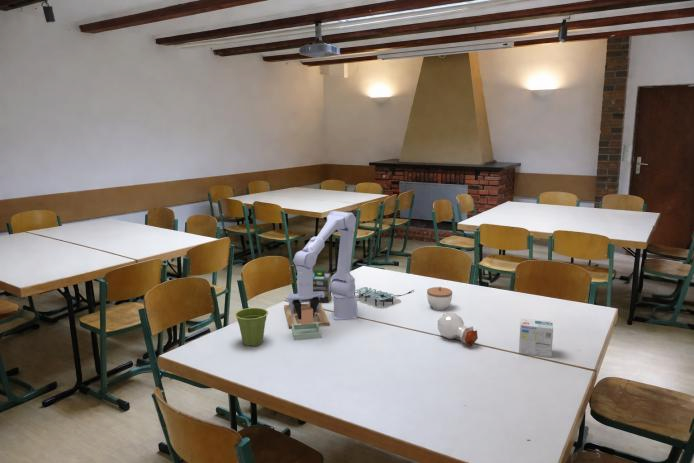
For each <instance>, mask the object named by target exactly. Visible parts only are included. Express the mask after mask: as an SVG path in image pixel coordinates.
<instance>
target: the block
mask: <svg viewBox="0 0 694 463" xmlns="http://www.w3.org/2000/svg"><path fill="white" fill-rule="evenodd" d="M298 321H299V322H300V323H301V324H302V325H304V324H310V323H313V309H312V308H311V307H310V306H309V305H308V306H301V319H300V320H299V319H298Z"/></svg>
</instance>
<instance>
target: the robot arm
mask: <svg viewBox="0 0 694 463" xmlns="http://www.w3.org/2000/svg"><path fill="white" fill-rule="evenodd" d="M356 224H357V217H356V216H355V215H354V213H353V212H347V211H339V210H338V211H337V210H331V211H330V212H329V213H328V215H327V216H326V222H325V224H324V226H323V227H322V228H321V230H320V232H319V233H318V234H317V236H312V237H311V238H310V239H309V241H308V242H307V243H306V245H305V246H304V247H303V248H302V249H301V250H299V251H297V252H296V253H295V254H294V258H293V264H294V265H295V270H296V272H297V275H296V276H297V277H296V278H297V280H296V282H297V293H292V294H293V295H289V294H288V295H285V301H286V302H287V303H289V302H290V301H292V303H293V305H294V307H295V309H296V312H297V316H298V319H299V320H300V319H301V305H302V304H303V303H300V301H299V300H305V299H310V307H311V308H312V309H313V317H314V314H315V311H316V308H317V306H318V304H319V302H320V300H319V297H322V298H323V297H325V296H324V292H323V291H317V292H313V273H314V269H313V268H314V266H315V265H316V263H317V259H318V255H319V254H320V253H321V251H322V250H323V249H324V248H325V246H326V245H325V242H326V240H327V239H328V238H330V237H331V235H332V234H333V233H334V232H335V231H338V233H339V235H340V238H339V246H338V248H339V249H338V256H337V257H338V258H337V266H336V272H335V273H334V274H332V275H331V282H330V285H329V290H330V292H331V297H332V296H333V312H331V315H332V317H333V319H334V321H340V320H341V321H342V320H354V319H358V301H357V299H358V298H357V299H356V296H355V295H356V293H355V292H356V291H355V290H356V284H355V282H356V279H355V277H354V276H353V275H352V274H351V265H352V264H351V263H352V253H353V247H354V246H353V244H354V238H355V237H354V235H355V231H356ZM354 293H355V295H354Z"/></svg>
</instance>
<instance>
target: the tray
mask: <svg viewBox="0 0 694 463" xmlns="http://www.w3.org/2000/svg"><path fill="white" fill-rule="evenodd" d="M291 332H292V336H293V339H294V341H300V340H301V341H302V340H303V341H304V340H313V339H322V331H321V328H320V326H318V323H310V324H304V325H302V324H295V325H292V329H291Z"/></svg>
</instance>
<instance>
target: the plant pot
mask: <svg viewBox="0 0 694 463" xmlns="http://www.w3.org/2000/svg"><path fill="white" fill-rule="evenodd" d="M268 314H269V311H268V310H267V309H265V308H261V307H248V308H243V309H242V308H241V309H240V310H238V311H236V312H235V313H234V316H235V318H236V319H237V323H238V325H239V330H240V334H241V340H242V344H243V345H245V346H252V347H254V346H258V345H260V344H262V343H263V342H264V336H265V335H264V334H265V326H266V321H267V316H268Z"/></svg>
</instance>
